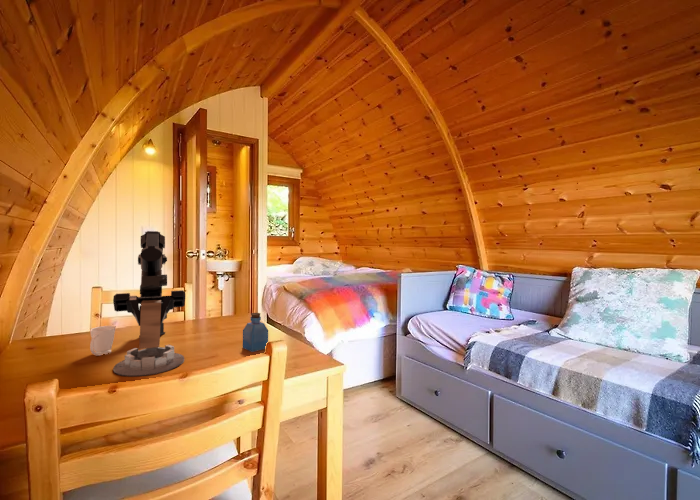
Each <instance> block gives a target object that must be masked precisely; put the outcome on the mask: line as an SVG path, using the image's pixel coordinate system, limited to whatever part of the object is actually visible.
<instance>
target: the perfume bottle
mask: <svg viewBox="0 0 700 500" xmlns="http://www.w3.org/2000/svg"><path fill="white" fill-rule="evenodd" d="M261 320H262V316H261V313H260V312H251V313H250V321H251V322H247V323H246V325H245V326H244V327H243V330H242V348H243V349H244V350H247V351H248V352H250V353H253V352H257V351H262V350H265V346H266V343H267V342H268V343H269V330H268V327H267V326H266V324H265V322H264V323H263V322H261Z"/></svg>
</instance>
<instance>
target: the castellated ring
mask: <svg viewBox="0 0 700 500" xmlns="http://www.w3.org/2000/svg"><path fill="white" fill-rule="evenodd" d="M184 362H185V356H184V355H183V354H181V353H176V352H175V346H174V345H171V344H166V345H164V347H161V346H159V347H154V348H144V349H139V347H138V348H137V347H134V348H132V349H129V350H127V351H126V354H124V359H123V360H121V361H119V362H117V363H116V364H115V365H114V366H113V373H114V374H116V375H118V376H121V377H128V378H129V377H132V378H134V377H136V378H137V377H146V376H153V375H157V374H163V373H166V372H168V371H172V370H174V369H176V368H178V367H180V366H181V365H182V364H183V363H184Z"/></svg>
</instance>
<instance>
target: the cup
mask: <svg viewBox="0 0 700 500" xmlns="http://www.w3.org/2000/svg"><path fill="white" fill-rule="evenodd" d="M89 332H90V337H91V339H90V342H89V343H90V345H89V350H90V352H91V354H92V355H94V356H96V357H98V356H102V355H103V354H105V355H109V354H111V353H112V346H113V344H114V339H115V335H116V333H115V332H116V325H103V326H101V325H100V326H96V327H92V328H90V331H89ZM108 353H109V354H108Z"/></svg>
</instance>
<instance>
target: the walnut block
mask: <svg viewBox="0 0 700 500" xmlns="http://www.w3.org/2000/svg"><path fill="white" fill-rule="evenodd" d="M140 305H141V316H140V326H139V336H140V337H139V344H138V345H139V346H138V350H142V349H146V348H154V347H160V345H161V344H160V343H161V335H160V318H161V300H149V301H142V302H141V304H140Z"/></svg>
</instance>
